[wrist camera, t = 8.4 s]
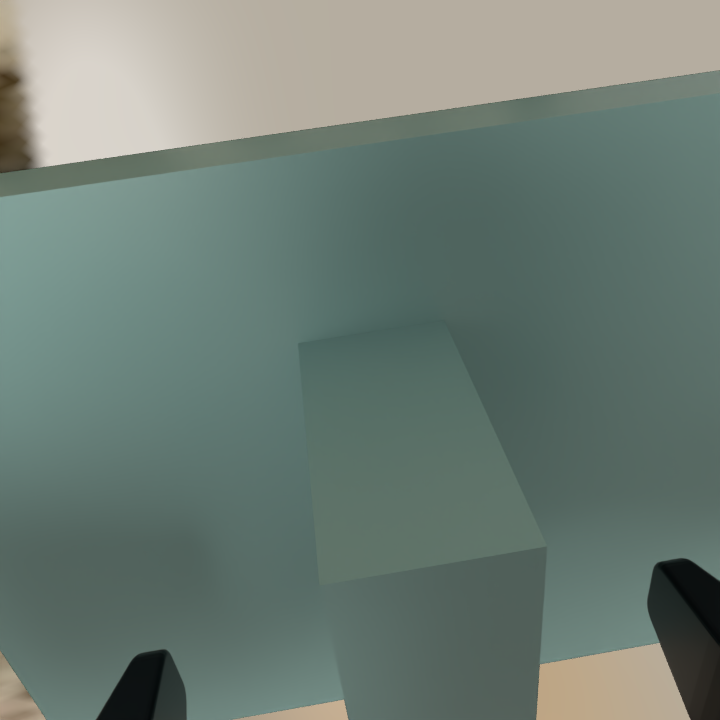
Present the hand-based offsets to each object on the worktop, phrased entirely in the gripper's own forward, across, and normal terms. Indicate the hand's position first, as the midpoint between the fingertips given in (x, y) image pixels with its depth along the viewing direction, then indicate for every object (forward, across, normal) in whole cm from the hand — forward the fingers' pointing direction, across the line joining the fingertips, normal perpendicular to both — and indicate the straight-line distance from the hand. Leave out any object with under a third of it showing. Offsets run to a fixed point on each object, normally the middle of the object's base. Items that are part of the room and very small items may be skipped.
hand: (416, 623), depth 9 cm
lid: (+4, 0, 0) cm, 4 cm away
